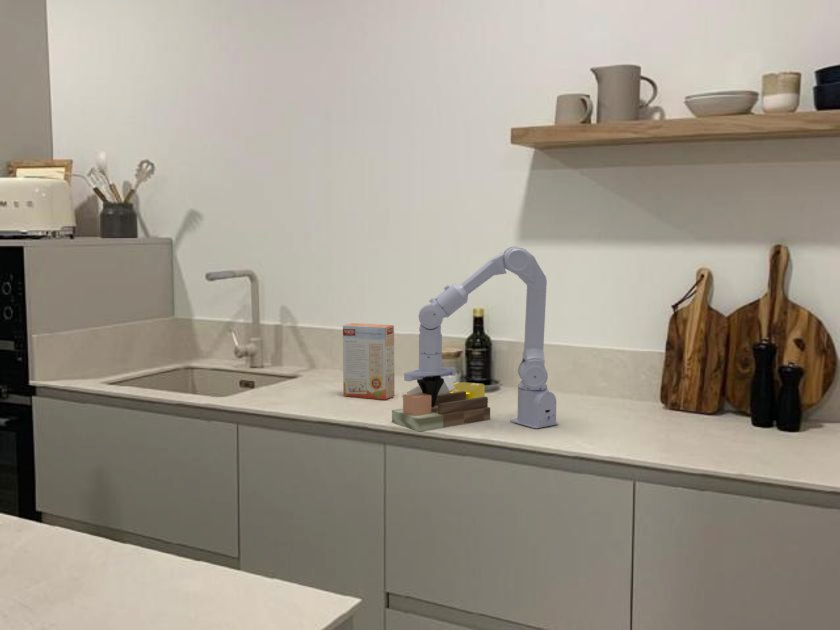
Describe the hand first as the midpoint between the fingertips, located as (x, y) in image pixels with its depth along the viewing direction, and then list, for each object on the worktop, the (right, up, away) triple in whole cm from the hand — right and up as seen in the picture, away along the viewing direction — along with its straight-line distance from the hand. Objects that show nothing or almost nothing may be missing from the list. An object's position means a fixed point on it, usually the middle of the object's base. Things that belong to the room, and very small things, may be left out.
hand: (430, 406), depth 208 cm
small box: (-4, 0, +15) cm, 16 cm away
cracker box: (-17, -1, +32) cm, 37 cm away
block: (-3, -1, -2) cm, 4 cm away
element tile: (+7, -2, +28) cm, 28 cm away
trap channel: (+2, -4, +2) cm, 5 cm away
